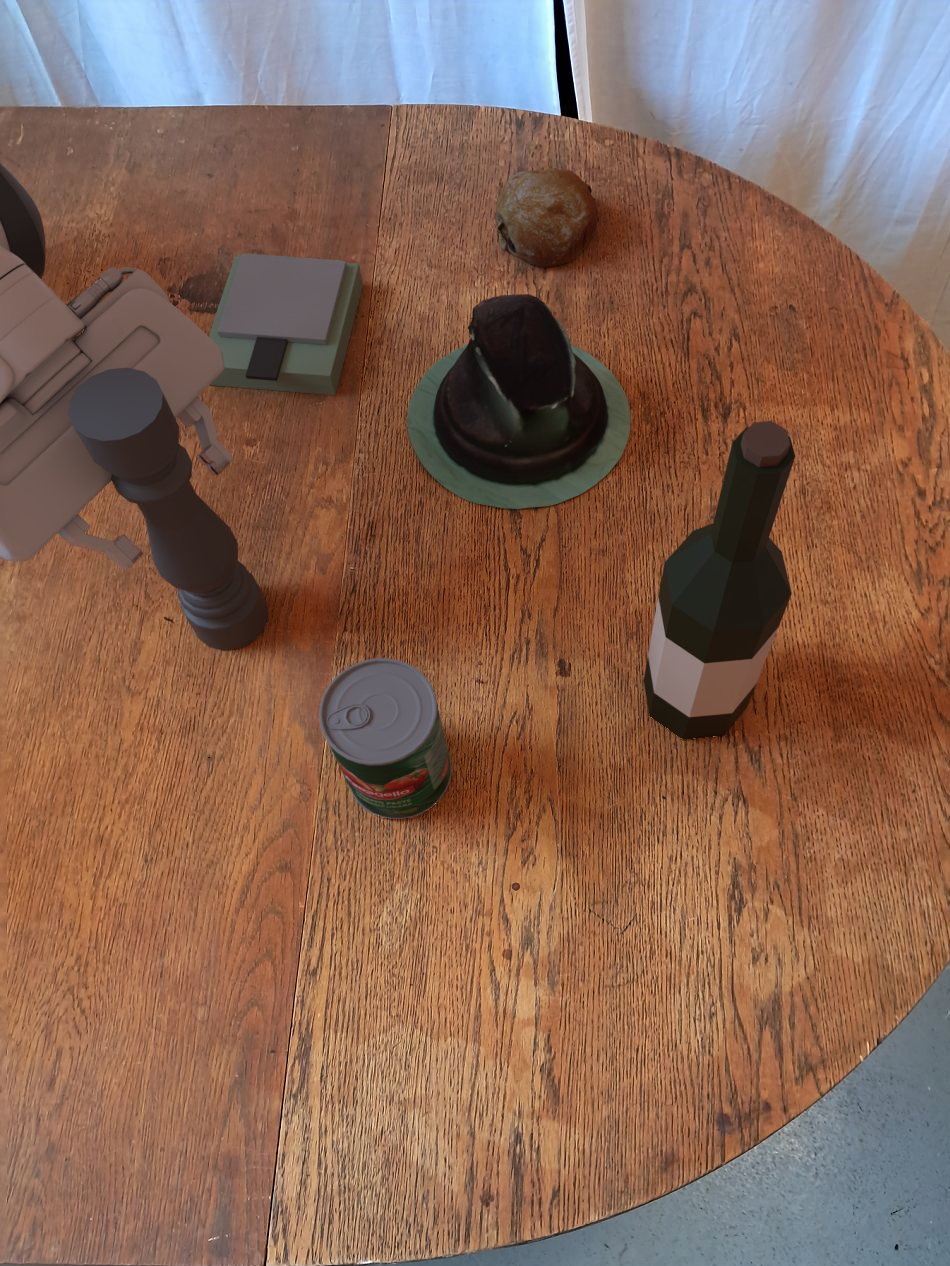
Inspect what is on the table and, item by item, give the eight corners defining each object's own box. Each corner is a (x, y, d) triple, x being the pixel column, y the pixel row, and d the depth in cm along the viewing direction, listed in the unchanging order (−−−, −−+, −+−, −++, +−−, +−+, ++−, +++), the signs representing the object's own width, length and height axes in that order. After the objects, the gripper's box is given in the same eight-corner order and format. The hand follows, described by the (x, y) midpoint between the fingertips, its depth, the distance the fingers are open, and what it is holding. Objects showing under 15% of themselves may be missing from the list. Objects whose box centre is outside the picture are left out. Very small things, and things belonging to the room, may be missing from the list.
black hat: (683, 444, 91) (490, 553, 87) (578, 396, 105) (407, 488, 101) (643, 274, 82) (425, 387, 78) (534, 246, 96) (344, 341, 92)
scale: (204, 394, 95) (193, 369, 92) (242, 275, 102) (233, 248, 99) (333, 404, 95) (326, 379, 92) (363, 284, 101) (357, 257, 98)
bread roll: (491, 250, 108) (461, 205, 100) (558, 171, 106) (532, 119, 99) (555, 303, 104) (528, 260, 97) (625, 221, 103) (603, 172, 96)
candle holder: (178, 613, 85) (44, 399, 63) (242, 572, 87) (133, 348, 64) (219, 664, 83) (96, 461, 61) (284, 621, 85) (187, 408, 62)
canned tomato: (439, 714, 81) (423, 645, 71) (462, 805, 78) (449, 747, 68) (339, 738, 80) (309, 672, 70) (358, 832, 77) (330, 776, 67)
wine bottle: (711, 631, 84) (788, 357, 57) (768, 713, 81) (878, 463, 54) (622, 675, 83) (657, 414, 55) (677, 760, 79) (743, 527, 52)
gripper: (114, 266, 72) (260, 423, 78) (-113, 466, 65) (68, 620, 71) (139, 236, 67) (293, 406, 73) (-105, 449, 59) (89, 617, 66)
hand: (180, 514), depth 72 cm, fingers open, 8 cm apart
